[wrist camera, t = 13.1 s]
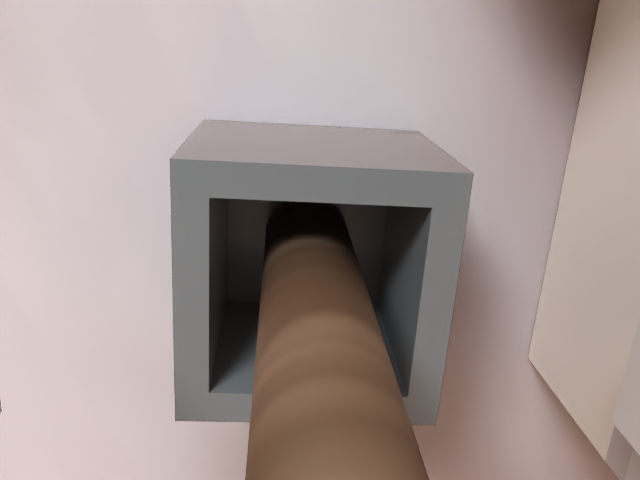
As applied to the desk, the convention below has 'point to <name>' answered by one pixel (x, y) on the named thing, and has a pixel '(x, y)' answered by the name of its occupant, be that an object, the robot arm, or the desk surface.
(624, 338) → the white box
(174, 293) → the pen cup
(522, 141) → the desk surface
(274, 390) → the brown wooden rod
